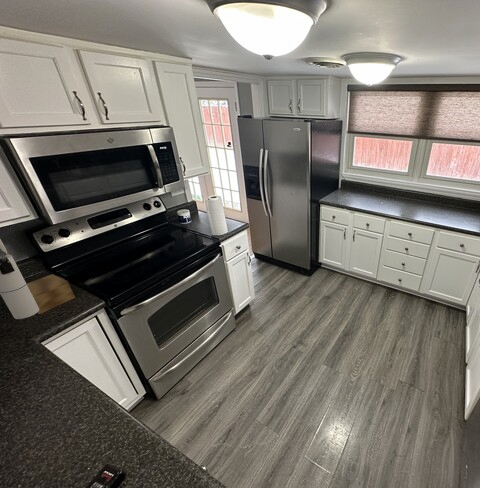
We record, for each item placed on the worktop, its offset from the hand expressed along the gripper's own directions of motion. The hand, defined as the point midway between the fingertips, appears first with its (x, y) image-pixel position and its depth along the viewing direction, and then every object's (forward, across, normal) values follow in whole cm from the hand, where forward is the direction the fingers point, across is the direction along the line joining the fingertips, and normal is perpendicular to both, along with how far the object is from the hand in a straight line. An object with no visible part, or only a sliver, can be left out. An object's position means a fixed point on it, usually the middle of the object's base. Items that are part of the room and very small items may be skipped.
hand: (3, 270), depth 98 cm
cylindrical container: (+20, 0, 0) cm, 20 cm away
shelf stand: (+30, -21, +13) cm, 39 cm away
